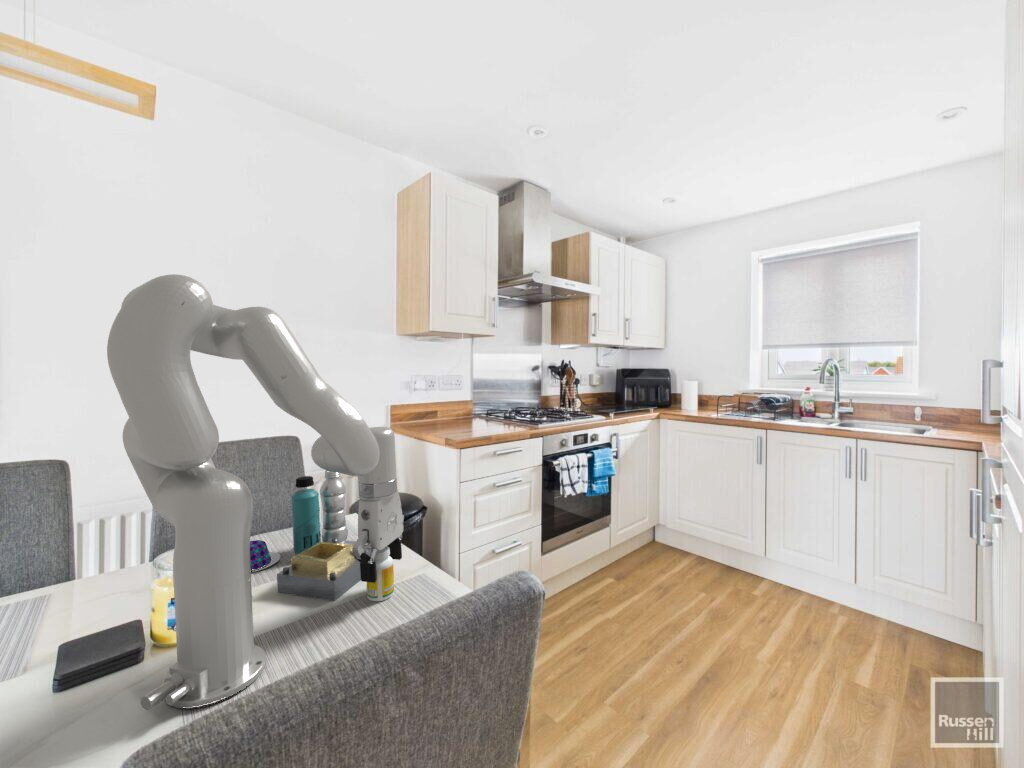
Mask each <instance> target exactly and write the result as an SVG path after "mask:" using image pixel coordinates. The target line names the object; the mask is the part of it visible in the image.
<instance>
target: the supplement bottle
mask: <svg viewBox="0 0 1024 768" xmlns="http://www.w3.org/2000/svg"><path fill="white" fill-rule="evenodd" d="M370 552H371V550H370ZM369 554H370V553H369ZM389 555H390V548H389V547H388V546H386V547H385V548H384V549H382V550H377V551H376V554H375V557H374V562H376V575H377V581H376V582H374V583H372V582H366V597H367V599H368V601H371V602H383V601H386V600H388V599H390V598H391V597H392V596H393V595H394V593H395V582H394V581H395V580H394V579H395V578H394V577H395V576H394V575H395V574H394V570H395V569H394V559H392V558H391V557H390V556H389Z"/></svg>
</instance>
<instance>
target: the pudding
mask: <svg viewBox="0 0 1024 768" xmlns="http://www.w3.org/2000/svg"><path fill="white" fill-rule="evenodd" d="M271 558H272V559H273V560H272V559H271ZM280 559H281V555H280V553H278V552H274V551H269V548H268V546H267V543H266V541H264V540H261V539H256V540H250V567H251V571H252V572H251V573H254V572H258V571H261V570H265V569H267V568H269V567H271V566H273V565H274V564H276V563H277V562H279V560H280ZM264 565H265V566H266V567H265V566H264ZM267 565H268V566H267ZM263 566H264V568H263ZM261 567H262V568H261ZM258 568H260V569H259V570H258ZM252 569H257V570H255V571H254V570H252Z"/></svg>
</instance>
